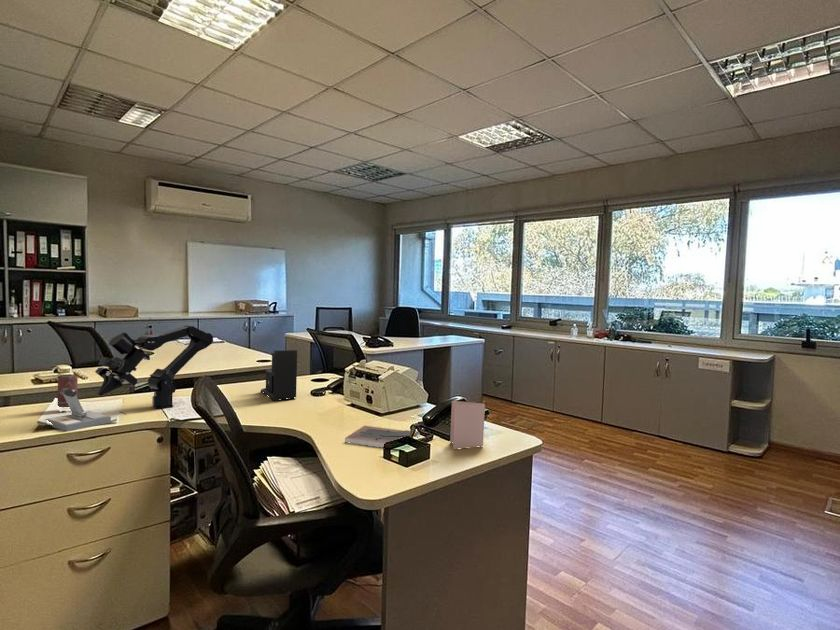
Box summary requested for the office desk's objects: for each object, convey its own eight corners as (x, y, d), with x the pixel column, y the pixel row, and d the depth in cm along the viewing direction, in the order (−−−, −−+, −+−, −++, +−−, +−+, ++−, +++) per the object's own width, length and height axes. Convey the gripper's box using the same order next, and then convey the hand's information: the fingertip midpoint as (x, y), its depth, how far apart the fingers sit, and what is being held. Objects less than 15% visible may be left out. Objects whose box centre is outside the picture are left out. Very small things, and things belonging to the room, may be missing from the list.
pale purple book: (419, 438, 164) (363, 431, 170) (419, 431, 164) (364, 424, 170) (405, 453, 148) (344, 444, 154) (405, 445, 148) (345, 437, 154)
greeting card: (483, 446, 156) (485, 403, 156) (481, 453, 149) (483, 408, 148) (450, 442, 159) (452, 400, 158) (446, 449, 152) (448, 404, 151)
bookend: (260, 391, 227) (261, 345, 226) (281, 390, 233) (283, 344, 232) (273, 401, 208) (274, 350, 207) (296, 399, 214) (298, 350, 213)
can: (81, 409, 181) (82, 374, 181) (67, 413, 175) (68, 377, 175) (67, 408, 182) (68, 373, 182) (53, 412, 176) (53, 376, 175)
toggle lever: (79, 413, 165) (66, 386, 161) (87, 415, 162) (74, 388, 158) (72, 416, 163) (59, 390, 159) (80, 419, 161) (67, 392, 156)
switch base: (89, 416, 172) (89, 410, 172) (110, 422, 166) (110, 416, 166) (45, 424, 160) (45, 418, 159) (66, 431, 153) (66, 424, 153)
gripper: (100, 346, 176) (68, 379, 167) (129, 351, 168) (96, 385, 159) (121, 364, 184) (91, 396, 174) (150, 369, 175) (120, 403, 166)
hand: (99, 394), depth 168 cm, fingers closed
